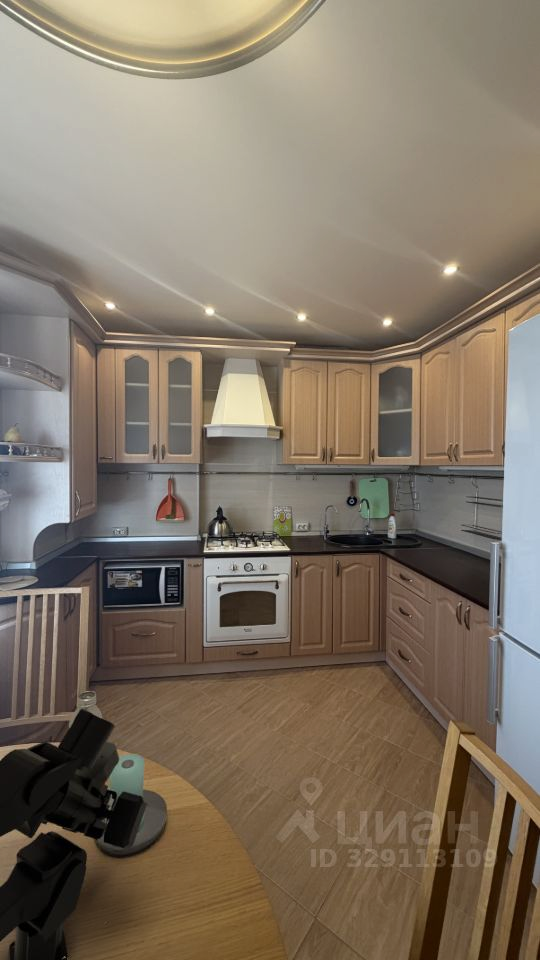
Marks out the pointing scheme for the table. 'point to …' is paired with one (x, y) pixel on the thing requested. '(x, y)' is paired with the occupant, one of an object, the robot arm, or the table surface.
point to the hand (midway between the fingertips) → (107, 817)
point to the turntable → (147, 821)
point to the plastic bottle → (86, 705)
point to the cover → (128, 777)
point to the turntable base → (129, 852)
